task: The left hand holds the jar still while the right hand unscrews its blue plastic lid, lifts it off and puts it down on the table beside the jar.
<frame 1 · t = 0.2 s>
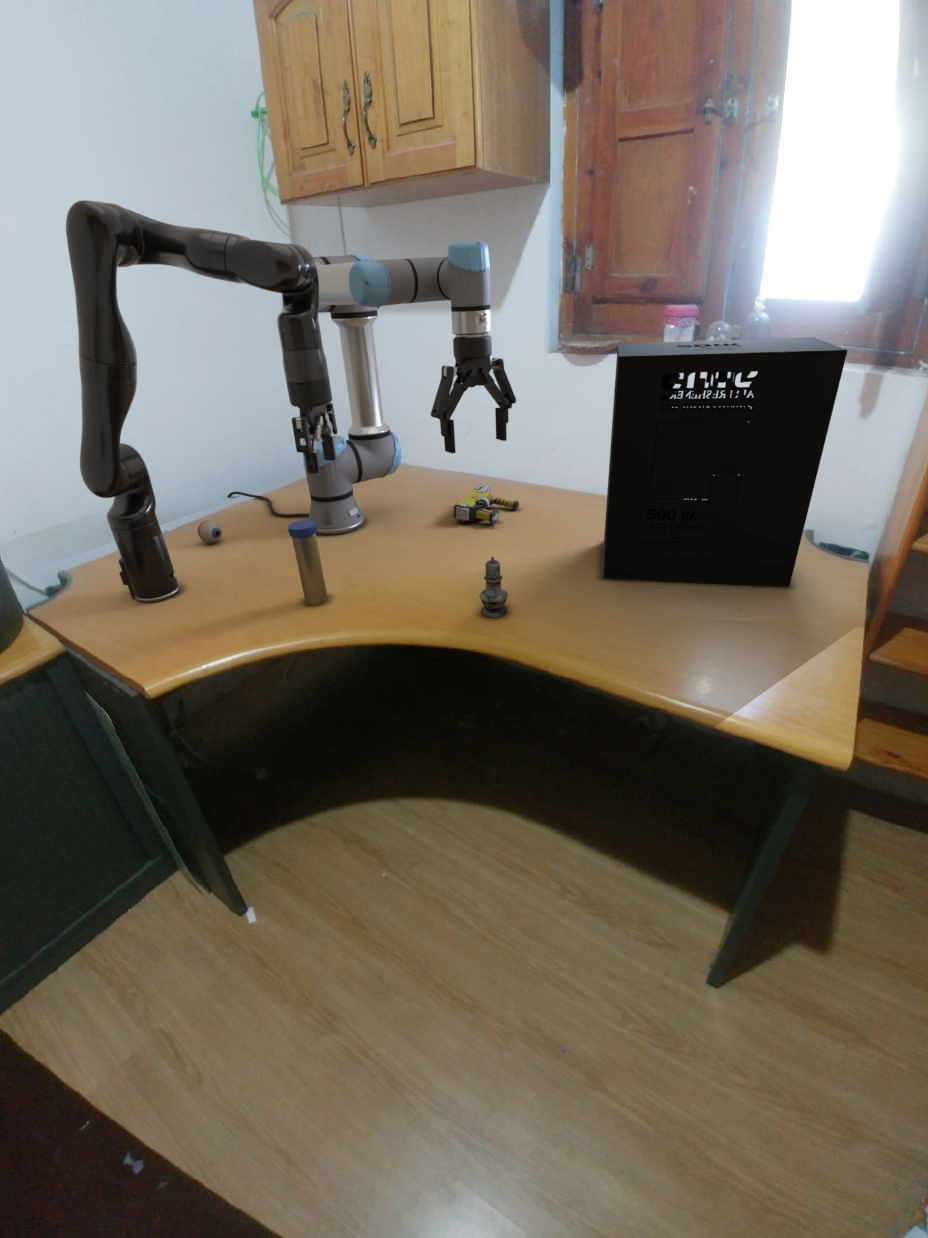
left hand: (322, 466, 115), 29 cm above the table, tool pointing down, fingers open, 8 cm apart
right hand: (476, 445, 127), 28 cm above the table, tool pointing down, fingers open, 13 cm apart
jar: (316, 600, 131), on the table
dark grey tiered cylinder: (494, 611, 122), on the table
cardboard box: (688, 563, 137), on the table
lid: (302, 526, 122), point 17 cm above the table, screwed on, not yet turned
eyeball: (213, 542, 163), on the table
toy gun: (491, 511, 173), on the table
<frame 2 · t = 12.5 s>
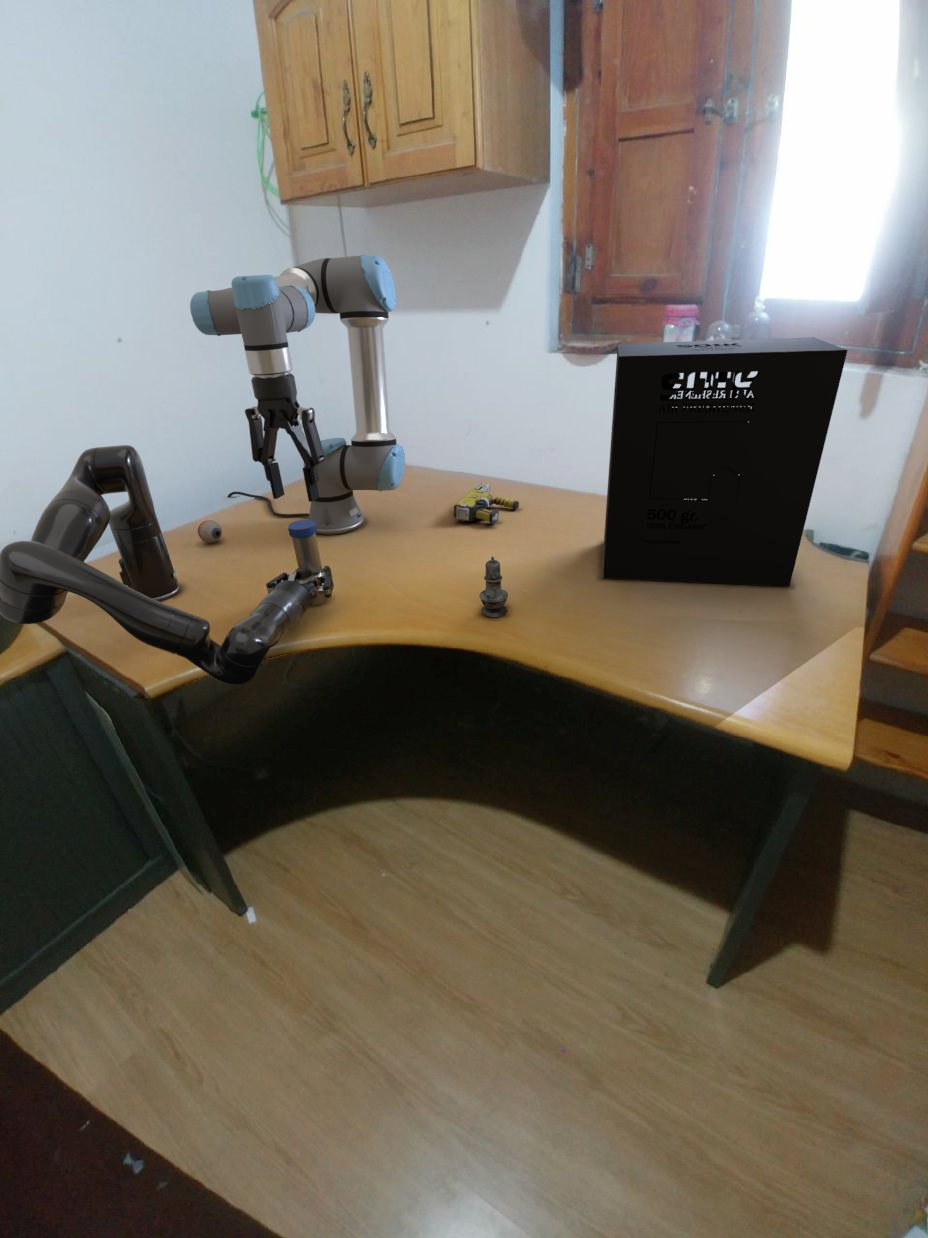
left hand: (316, 569, 130), 6 cm above the table, tool horizontal, fingers closed on jar, 4 cm apart
right hand: (296, 497, 119), 23 cm above the table, tool pointing down, fingers open, 7 cm apart
jar: (316, 600, 131), on the table, touching left hand
everything else where it was.
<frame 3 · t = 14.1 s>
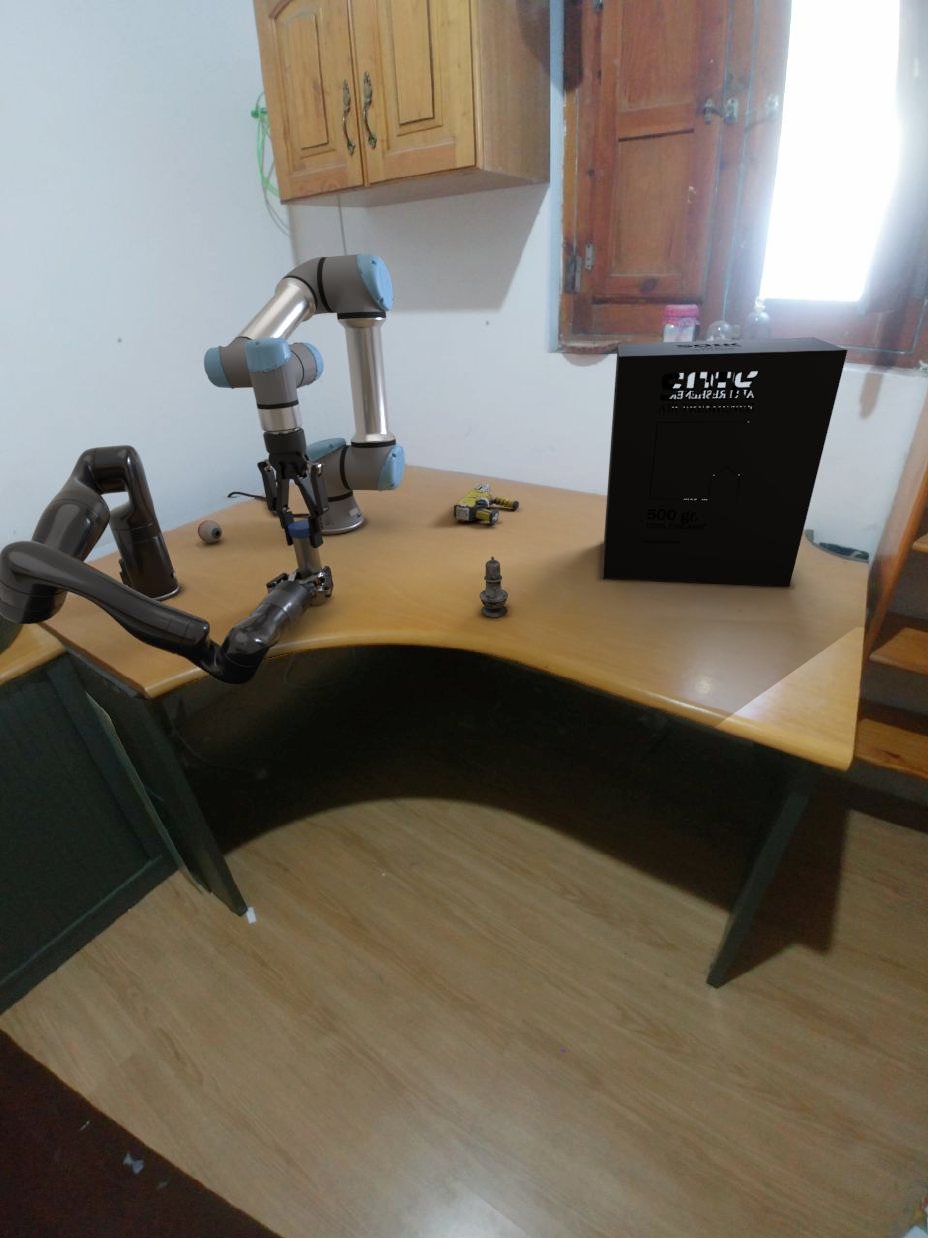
left hand: (316, 569, 130), 6 cm above the table, tool horizontal, fingers closed on jar, 4 cm apart
right hand: (305, 544, 124), 13 cm above the table, tool pointing down, fingers closed on lid, 5 cm apart
jar: (316, 600, 131), on the table, touching left hand
lid: (302, 526, 122), point 17 cm above the table, screwed on, not yet turned, touching right hand
everything else where it was.
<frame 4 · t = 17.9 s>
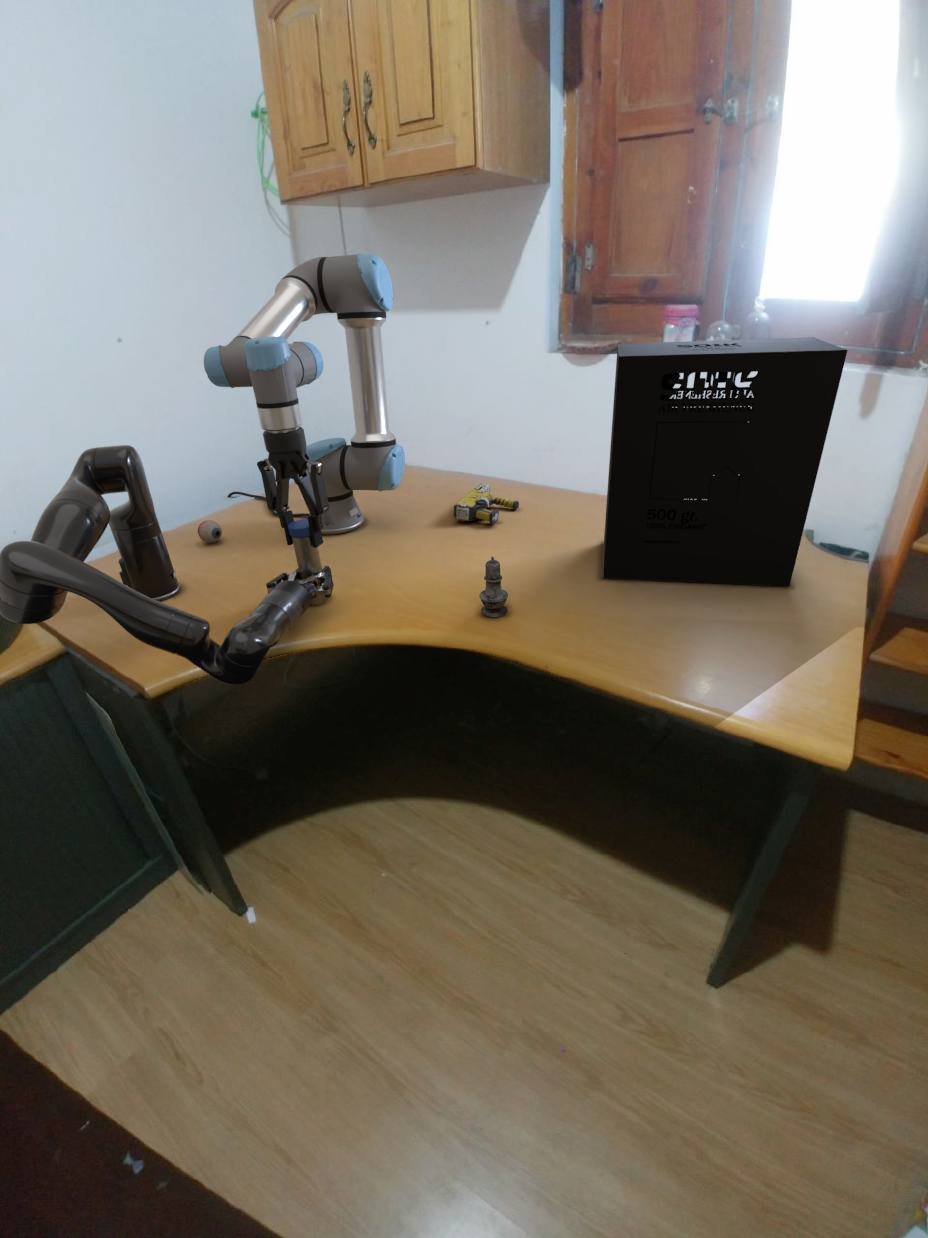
left hand: (316, 569, 130), 6 cm above the table, tool horizontal, fingers closed on jar, 4 cm apart
right hand: (305, 543, 124), 13 cm above the table, tool pointing down, fingers closed on lid, 5 cm apart
jar: (316, 600, 131), on the table, touching left hand
lid: (301, 525, 122), point 17 cm above the table, turned 129° so far, risen 0.1 cm, still on its thread, touching right hand
everything else where it was.
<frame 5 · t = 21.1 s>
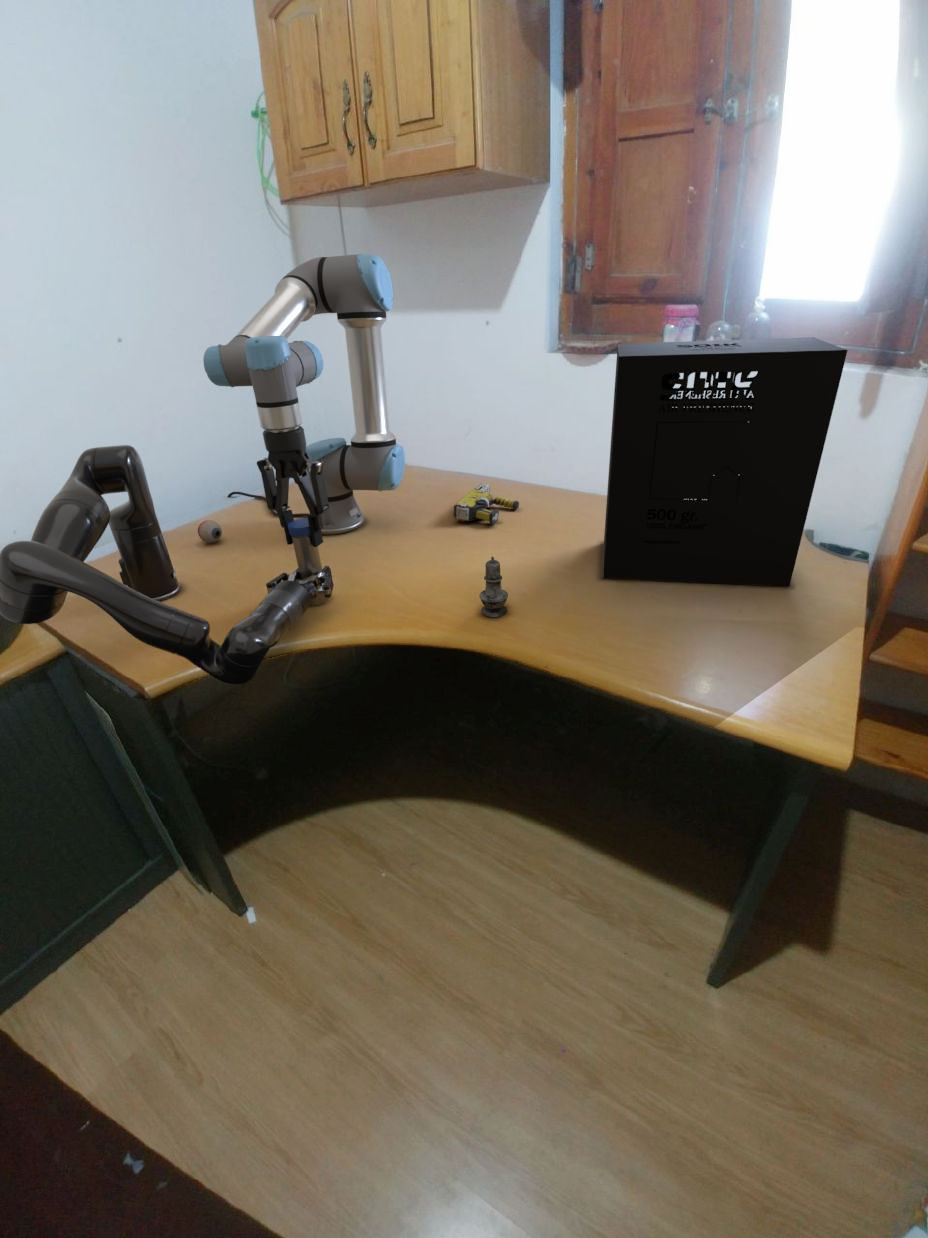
left hand: (316, 569, 130), 6 cm above the table, tool horizontal, fingers closed on jar, 4 cm apart
right hand: (305, 543, 124), 13 cm above the table, tool pointing down, fingers closed on lid, 5 cm apart
jar: (316, 600, 131), on the table, touching left hand
lid: (301, 524, 122), point 17 cm above the table, turned 259° so far, risen 0.3 cm, still on its thread, touching right hand
everything else where it was.
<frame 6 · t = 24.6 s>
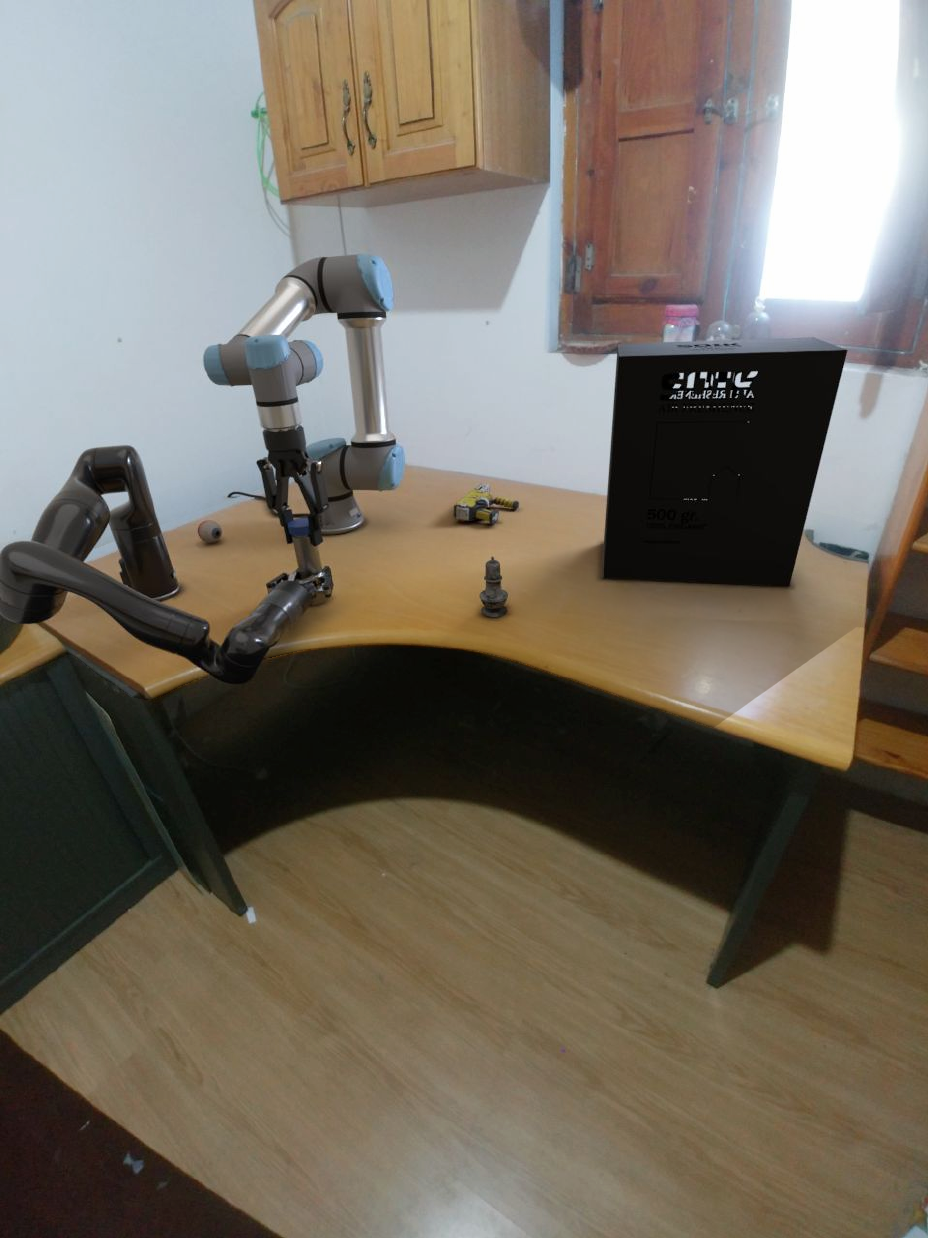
left hand: (316, 569, 130), 6 cm above the table, tool horizontal, fingers closed on jar, 4 cm apart
right hand: (305, 542, 124), 14 cm above the table, tool pointing down, fingers closed on lid, 5 cm apart
jar: (316, 600, 131), on the table, touching left hand
lid: (301, 524, 122), point 18 cm above the table, turned 388° so far, risen 0.4 cm, still on its thread, touching right hand
everything else where it was.
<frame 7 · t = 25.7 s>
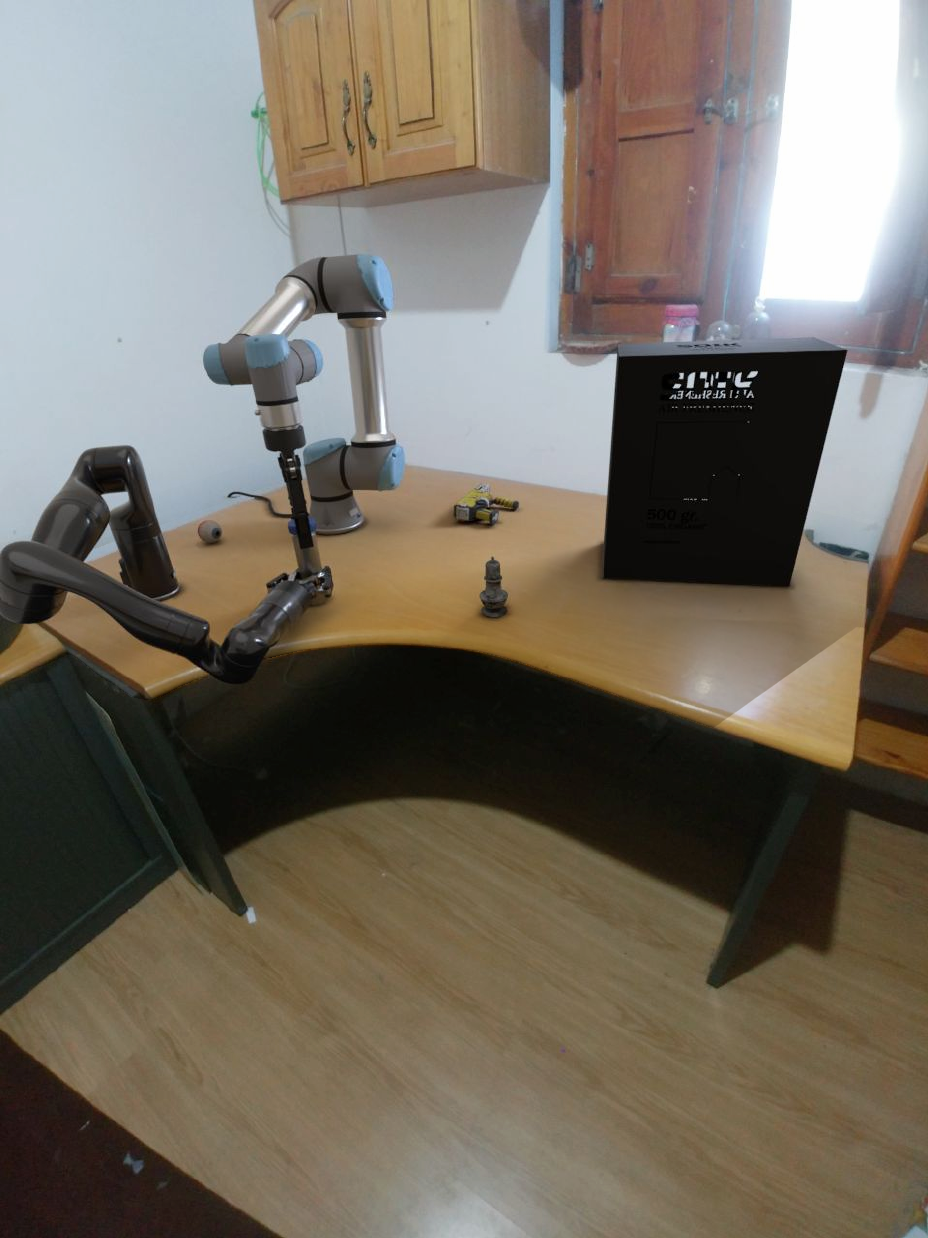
left hand: (316, 569, 130), 6 cm above the table, tool horizontal, fingers closed on jar, 4 cm apart
right hand: (305, 541, 124), 14 cm above the table, tool pointing down, fingers closed on lid, 5 cm apart
jar: (316, 600, 131), on the table, touching left hand
lid: (301, 523, 122), point 18 cm above the table, off its thread, touching right hand
everything else where it was.
when the right hand's fingers open (0 cm above the table, at t = 30.9 s): lid drops 3 cm, point 1 cm above the table.
when the left hand's fingers open (6 cm above the table, at t = 32.1 s): jar stays where it is, on the table.
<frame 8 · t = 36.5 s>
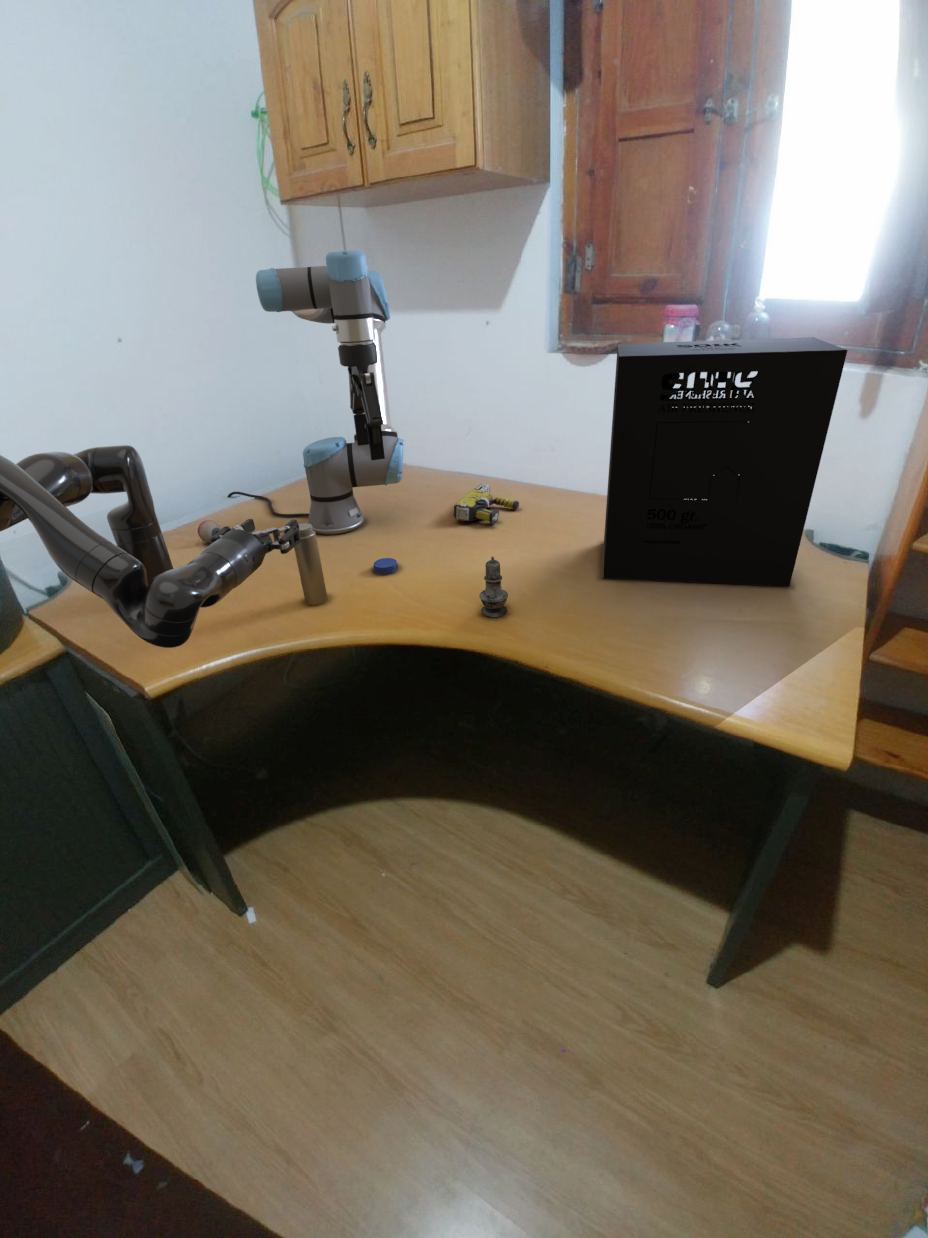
left hand: (274, 523, 111), 22 cm above the table, tool horizontal, fingers open, 8 cm apart
right hand: (370, 451, 129), 28 cm above the table, tool pointing down, fingers open, 13 cm apart
jar: (316, 600, 131), on the table
lid: (385, 563, 142), point 1 cm above the table, off its thread
everything else where it was.
at the end: lid came off its thread; lid point 1.5 cm above the table; the left hand is holding nothing; the right hand is holding nothing; jar tilted 0°; jar moved 0.0 cm from its start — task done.
